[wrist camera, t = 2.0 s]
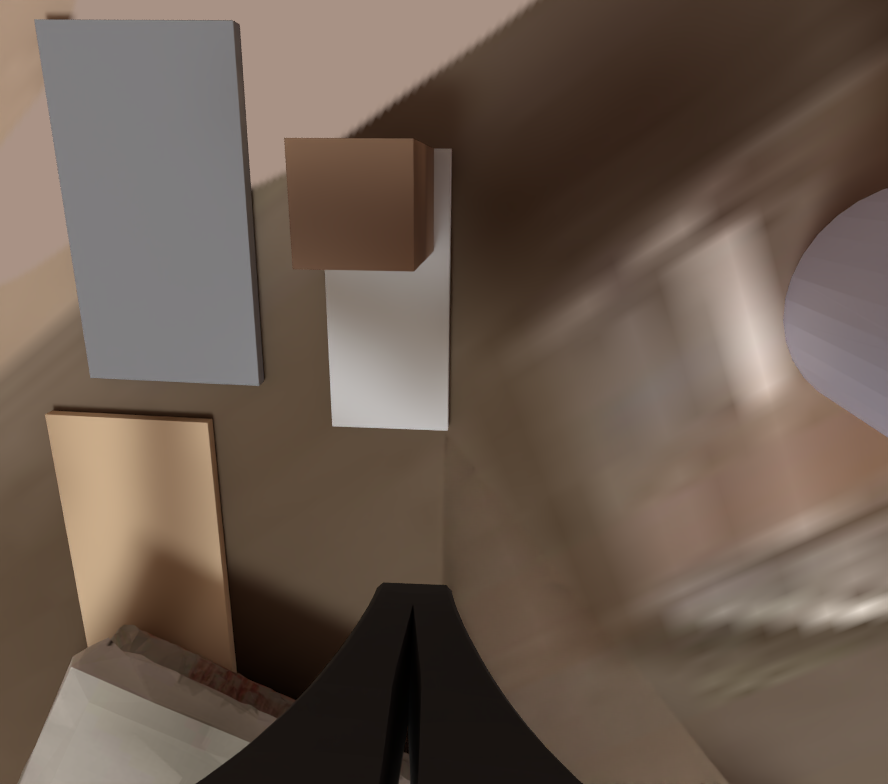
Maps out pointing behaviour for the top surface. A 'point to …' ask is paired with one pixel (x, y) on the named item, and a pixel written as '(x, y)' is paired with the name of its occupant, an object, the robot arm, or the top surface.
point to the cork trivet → (145, 527)
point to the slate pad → (156, 195)
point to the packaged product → (150, 716)
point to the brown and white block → (378, 272)
